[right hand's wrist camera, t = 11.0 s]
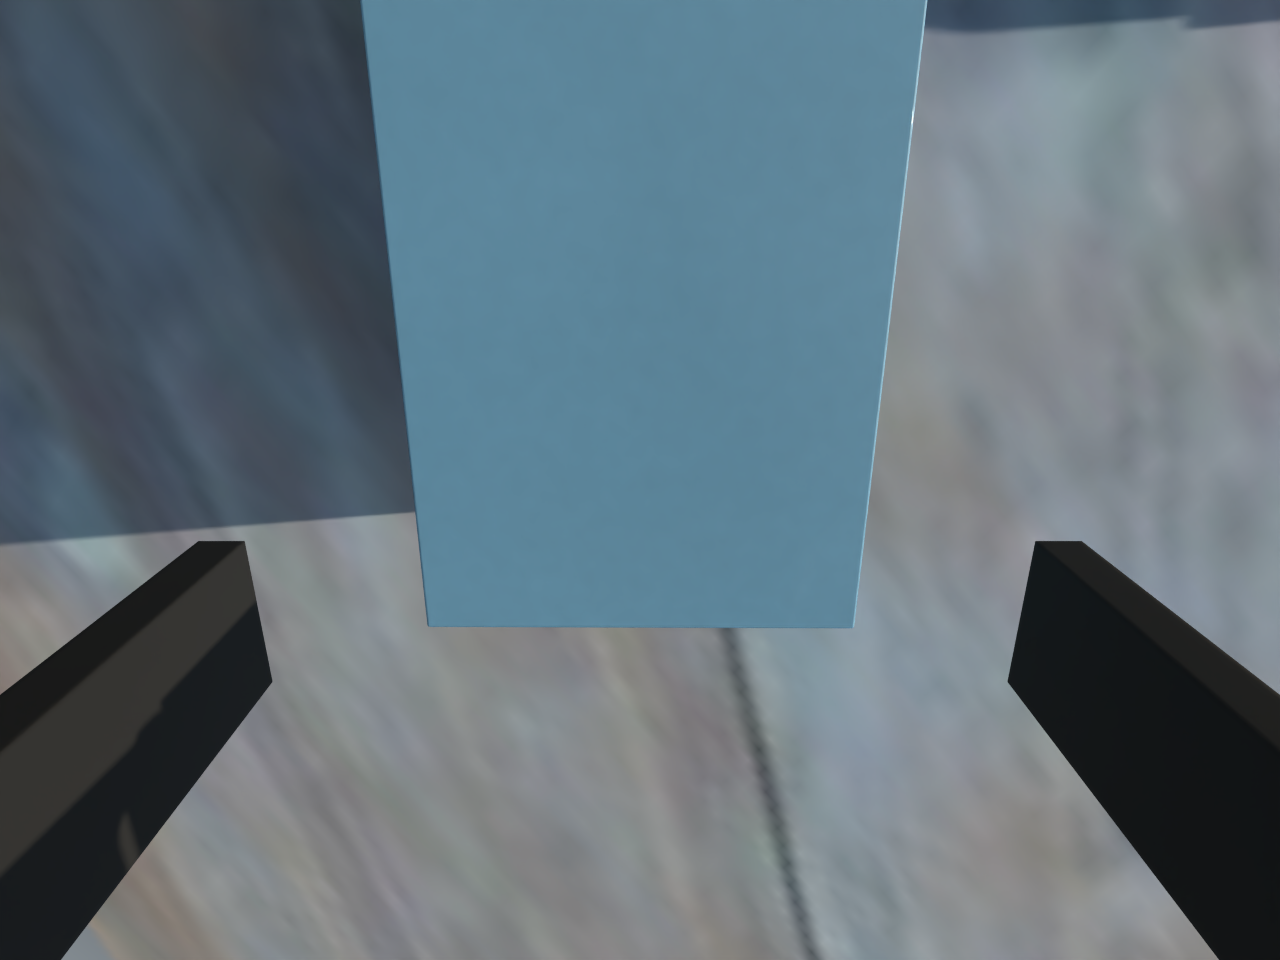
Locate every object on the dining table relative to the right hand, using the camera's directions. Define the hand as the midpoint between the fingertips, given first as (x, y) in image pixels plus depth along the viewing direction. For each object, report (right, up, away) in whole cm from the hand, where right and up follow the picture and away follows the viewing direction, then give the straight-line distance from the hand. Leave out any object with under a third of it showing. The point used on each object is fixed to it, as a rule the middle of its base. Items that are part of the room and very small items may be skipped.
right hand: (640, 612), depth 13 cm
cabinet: (0, +12, +11) cm, 16 cm away
